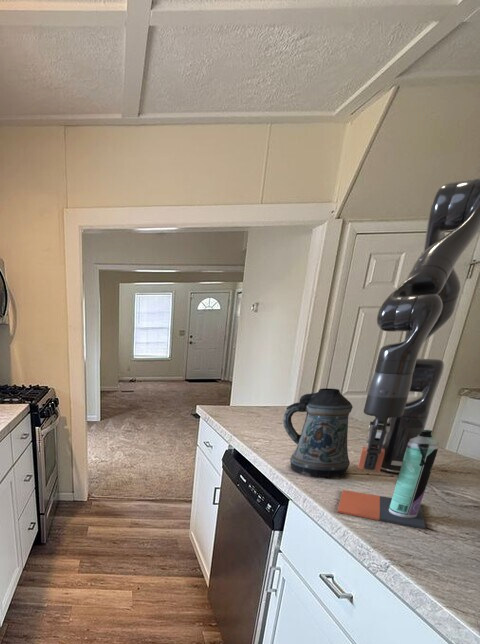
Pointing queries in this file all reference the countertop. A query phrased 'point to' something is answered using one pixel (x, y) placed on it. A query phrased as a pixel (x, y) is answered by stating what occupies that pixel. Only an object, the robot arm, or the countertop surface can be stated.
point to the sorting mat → (375, 509)
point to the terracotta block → (363, 458)
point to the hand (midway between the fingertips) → (369, 466)
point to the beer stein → (320, 434)
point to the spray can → (414, 475)
